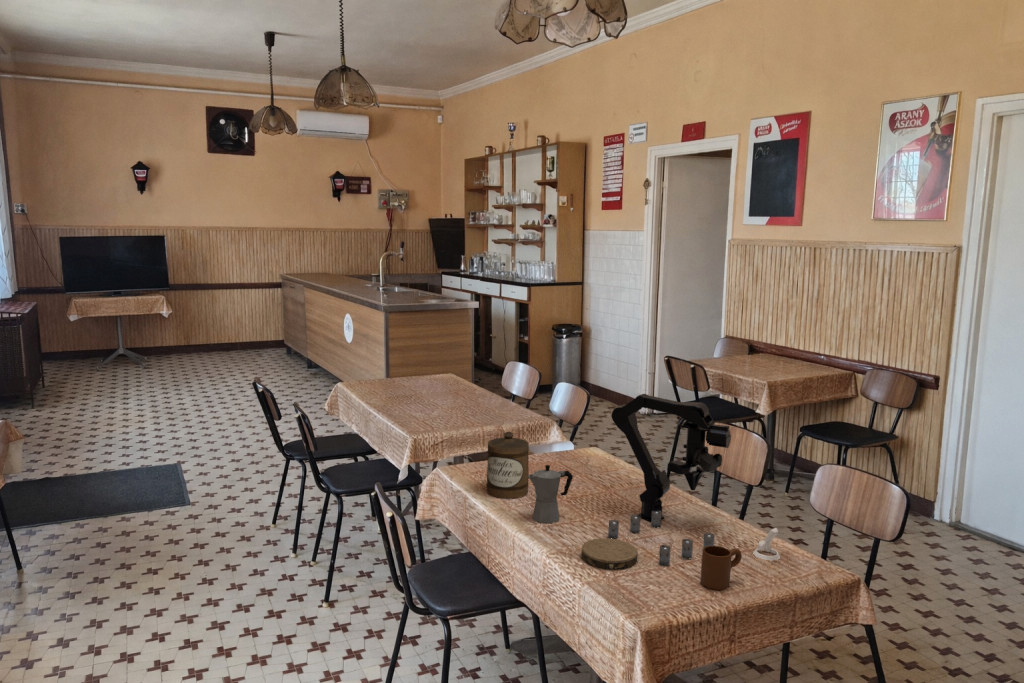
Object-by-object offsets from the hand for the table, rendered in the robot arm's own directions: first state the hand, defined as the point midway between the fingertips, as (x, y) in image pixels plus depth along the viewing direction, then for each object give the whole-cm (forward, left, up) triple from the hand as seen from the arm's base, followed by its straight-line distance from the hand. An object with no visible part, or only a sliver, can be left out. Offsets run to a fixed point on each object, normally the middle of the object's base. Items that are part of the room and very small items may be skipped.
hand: (692, 490), depth 243 cm
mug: (+33, -23, -12) cm, 42 cm away
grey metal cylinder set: (+6, -19, -12) cm, 23 cm away
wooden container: (-56, -34, -12) cm, 67 cm away
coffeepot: (-28, -36, -12) cm, 47 cm away
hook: (+28, +2, -12) cm, 31 cm away
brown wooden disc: (+6, -39, -12) cm, 41 cm away
